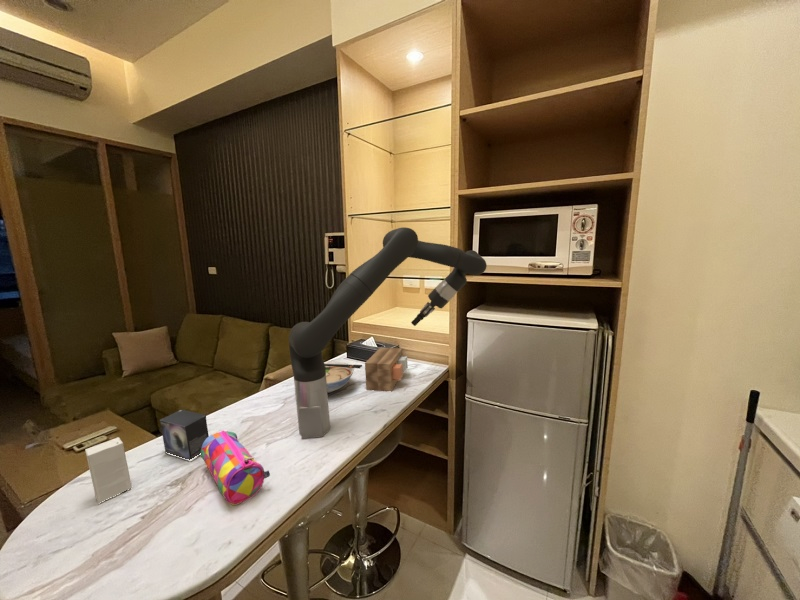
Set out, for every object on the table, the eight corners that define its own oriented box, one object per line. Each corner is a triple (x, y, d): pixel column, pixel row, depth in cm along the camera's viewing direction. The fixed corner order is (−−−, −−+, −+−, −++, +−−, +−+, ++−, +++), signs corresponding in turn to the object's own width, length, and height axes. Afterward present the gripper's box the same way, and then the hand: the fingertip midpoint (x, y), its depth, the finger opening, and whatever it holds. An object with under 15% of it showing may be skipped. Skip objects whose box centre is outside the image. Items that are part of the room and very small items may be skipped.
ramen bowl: (281, 399, 118) (278, 378, 116) (314, 376, 139) (312, 358, 138) (341, 406, 110) (339, 384, 109) (366, 380, 132) (365, 362, 131)
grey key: (389, 370, 132) (388, 359, 132) (392, 366, 137) (391, 355, 136) (405, 371, 131) (404, 360, 130) (407, 367, 136) (407, 356, 135)
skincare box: (128, 481, 77) (119, 436, 75) (132, 489, 74) (123, 442, 72) (94, 496, 72) (84, 448, 70) (97, 505, 70) (87, 456, 68)
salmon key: (383, 379, 124) (382, 367, 123) (386, 374, 128) (386, 362, 128) (400, 380, 122) (399, 368, 121) (403, 375, 127) (402, 363, 126)
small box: (163, 455, 87) (157, 419, 85) (186, 441, 93) (181, 408, 91) (189, 463, 83) (183, 426, 81) (212, 448, 89) (207, 413, 87)
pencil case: (273, 490, 72) (269, 454, 71) (229, 515, 65) (224, 476, 64) (238, 452, 87) (234, 421, 86) (199, 469, 80) (194, 437, 79)
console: (366, 390, 123) (364, 363, 121) (381, 371, 142) (380, 347, 140) (391, 391, 120) (389, 364, 119) (402, 372, 140) (401, 348, 138)
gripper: (438, 285, 129) (409, 314, 133) (433, 289, 116) (402, 321, 121) (451, 297, 128) (422, 326, 133) (448, 303, 115) (416, 334, 120)
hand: (413, 324), depth 127 cm, fingers closed
